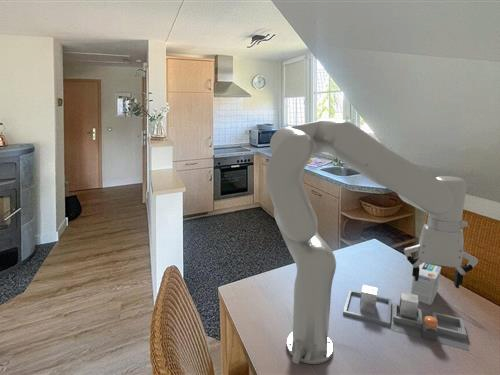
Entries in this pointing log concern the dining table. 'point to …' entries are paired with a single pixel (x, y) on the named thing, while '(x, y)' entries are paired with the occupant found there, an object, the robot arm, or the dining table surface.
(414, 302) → the block
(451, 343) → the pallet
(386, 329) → the dining table surface
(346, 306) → the tray
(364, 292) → the block
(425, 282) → the light bulb box
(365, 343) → the dining table surface
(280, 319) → the dining table surface
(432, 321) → the button
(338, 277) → the dining table surface
